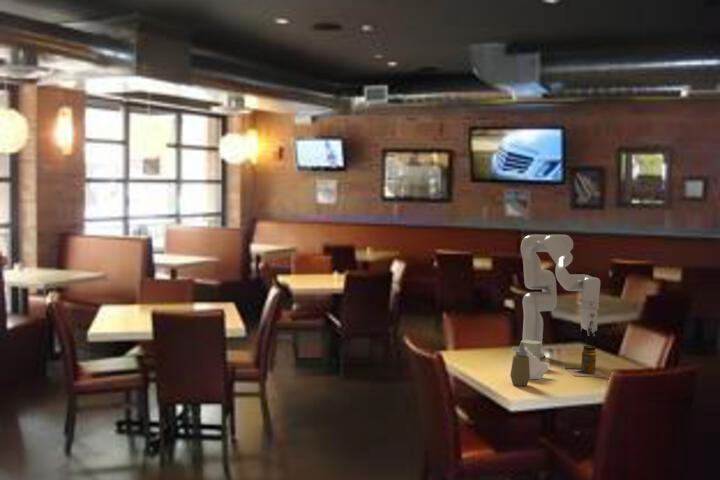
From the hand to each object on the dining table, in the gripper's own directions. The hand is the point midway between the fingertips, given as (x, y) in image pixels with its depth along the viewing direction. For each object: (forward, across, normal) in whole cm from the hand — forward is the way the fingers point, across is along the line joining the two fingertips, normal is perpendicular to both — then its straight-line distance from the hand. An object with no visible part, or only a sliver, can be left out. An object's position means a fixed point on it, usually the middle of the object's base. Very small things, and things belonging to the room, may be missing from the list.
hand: (586, 342), depth 351 cm
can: (+15, +10, +22) cm, 29 cm away
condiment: (+14, -1, 0) cm, 14 cm away
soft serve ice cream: (+15, -12, +28) cm, 34 cm away
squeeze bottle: (+14, -27, +34) cm, 46 cm away
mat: (+14, -1, 0) cm, 14 cm away
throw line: (+14, +8, 0) cm, 16 cm away
